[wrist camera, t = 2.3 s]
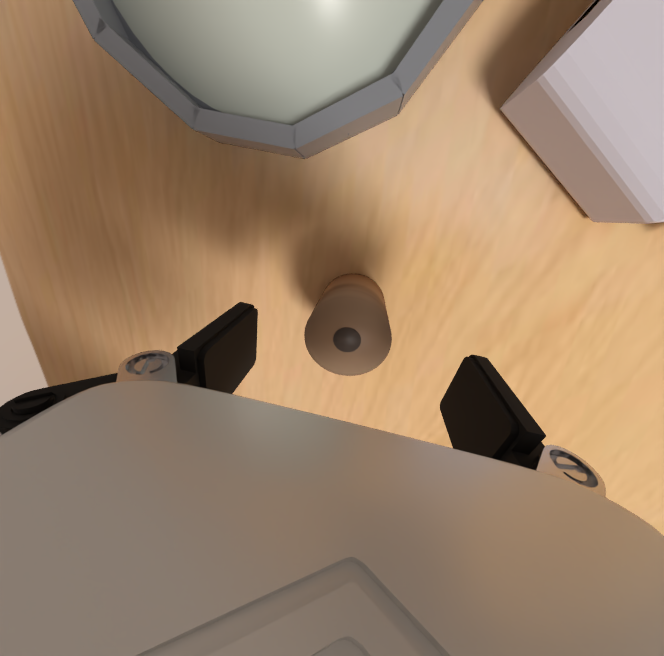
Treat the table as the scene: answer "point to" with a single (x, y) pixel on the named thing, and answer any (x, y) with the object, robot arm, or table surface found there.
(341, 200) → the table surface
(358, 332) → the bead
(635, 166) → the charger
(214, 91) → the tray
